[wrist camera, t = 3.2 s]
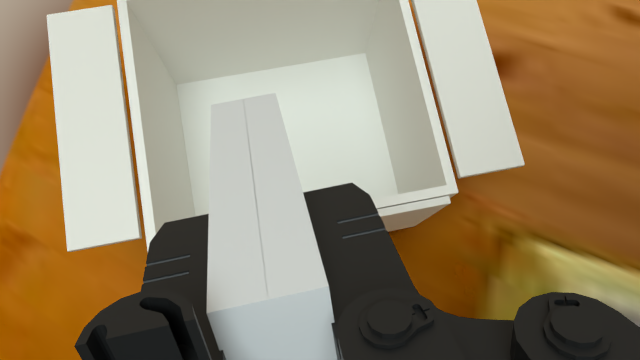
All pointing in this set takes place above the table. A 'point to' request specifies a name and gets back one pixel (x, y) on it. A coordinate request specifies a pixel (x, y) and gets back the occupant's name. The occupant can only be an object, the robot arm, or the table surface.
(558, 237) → the table surface
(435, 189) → the carton
